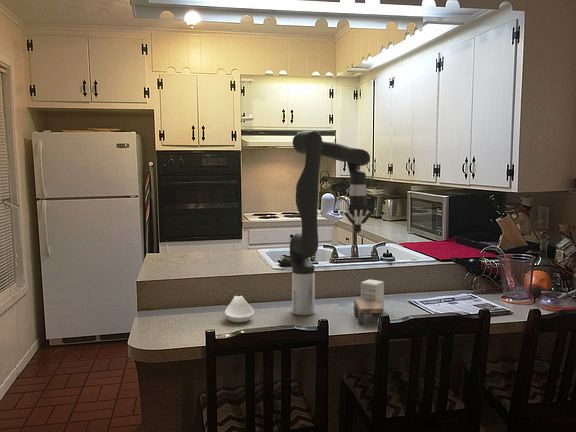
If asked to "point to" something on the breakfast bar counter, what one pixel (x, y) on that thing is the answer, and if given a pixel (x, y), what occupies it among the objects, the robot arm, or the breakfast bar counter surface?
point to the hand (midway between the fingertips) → (357, 232)
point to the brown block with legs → (367, 308)
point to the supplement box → (373, 291)
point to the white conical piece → (239, 310)
